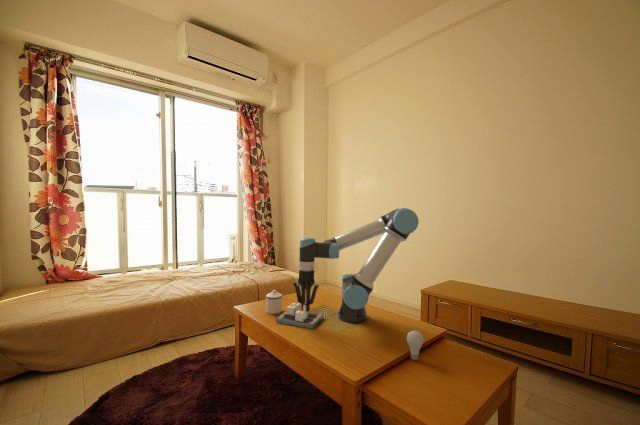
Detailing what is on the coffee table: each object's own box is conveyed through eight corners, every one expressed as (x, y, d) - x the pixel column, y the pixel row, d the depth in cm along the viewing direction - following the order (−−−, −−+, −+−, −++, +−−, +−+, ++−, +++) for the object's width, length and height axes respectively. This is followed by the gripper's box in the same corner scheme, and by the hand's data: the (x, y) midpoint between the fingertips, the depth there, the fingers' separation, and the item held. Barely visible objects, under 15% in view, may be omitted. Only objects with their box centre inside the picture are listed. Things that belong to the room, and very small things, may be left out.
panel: (323, 318, 146) (323, 312, 146) (312, 329, 132) (313, 323, 132) (289, 312, 153) (289, 307, 153) (275, 322, 139) (275, 316, 139)
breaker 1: (296, 314, 145) (296, 306, 145) (293, 316, 142) (293, 307, 142) (289, 313, 146) (289, 305, 146) (286, 314, 144) (286, 306, 144)
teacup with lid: (285, 311, 155) (285, 290, 155) (271, 315, 148) (272, 293, 148) (272, 306, 163) (272, 286, 163) (259, 309, 156) (259, 289, 156)
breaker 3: (305, 319, 138) (305, 311, 138) (302, 321, 135) (302, 313, 135) (297, 318, 139) (297, 310, 139) (295, 320, 136) (295, 312, 136)
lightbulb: (409, 354, 110) (410, 326, 110) (425, 359, 106) (426, 330, 106) (403, 360, 106) (404, 331, 106) (419, 366, 102) (420, 336, 102)
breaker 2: (300, 311, 150) (300, 303, 150) (297, 312, 147) (297, 304, 147) (293, 310, 151) (293, 302, 151) (290, 311, 148) (291, 303, 148)
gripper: (321, 269, 137) (320, 317, 137) (297, 266, 142) (296, 313, 142) (316, 272, 130) (314, 322, 130) (291, 269, 135) (289, 318, 135)
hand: (305, 317), depth 136 cm, fingers closed
